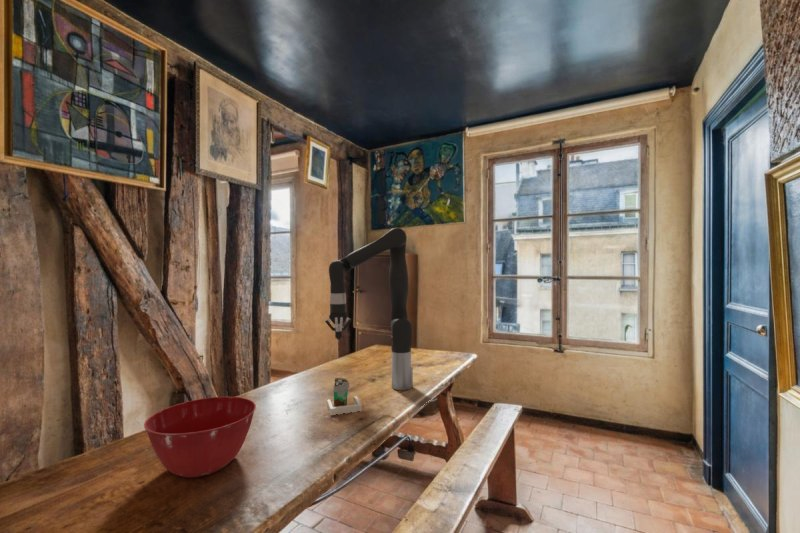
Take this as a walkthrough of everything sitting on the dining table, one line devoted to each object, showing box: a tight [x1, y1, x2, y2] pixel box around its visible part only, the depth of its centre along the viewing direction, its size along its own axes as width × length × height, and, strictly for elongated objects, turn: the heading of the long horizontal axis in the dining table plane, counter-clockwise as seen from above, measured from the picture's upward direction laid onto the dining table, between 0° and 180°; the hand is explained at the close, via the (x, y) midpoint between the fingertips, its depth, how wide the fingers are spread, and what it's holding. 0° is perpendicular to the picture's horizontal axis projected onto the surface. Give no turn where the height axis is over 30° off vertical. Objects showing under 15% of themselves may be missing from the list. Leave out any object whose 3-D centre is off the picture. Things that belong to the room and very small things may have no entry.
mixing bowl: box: [143, 396, 257, 479], centre depth 108 cm, size 28×28×16 cm
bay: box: [326, 395, 363, 416], centre depth 150 cm, size 12×10×2 cm
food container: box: [333, 377, 350, 407], centre depth 152 cm, size 12×6×10 cm, turn 7°
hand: (338, 339), depth 175 cm, fingers closed
